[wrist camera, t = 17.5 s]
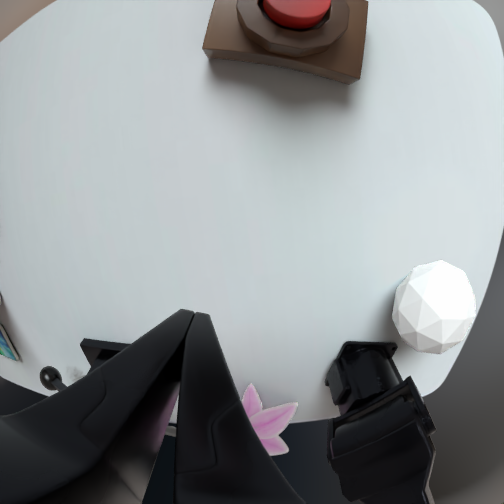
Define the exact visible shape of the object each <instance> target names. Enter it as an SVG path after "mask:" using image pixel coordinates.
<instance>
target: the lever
mask: <svg viewBox="0 0 504 504" xmlns="http://www.w3.org/2000/svg"><path fill="white" fill-rule="evenodd" d="M40 381H41V383H42V385H43V386H44V387H45V388H47V389H48V390H58V391H61V390H63V389H65V388H66V387H67V386H66V385H64V384H63V383H62V377H61V375H60V373H59V371H58V370H57V369H56V368H54V367H51V366H46V367H44V368H43V369H42V370H41V372H40Z"/></svg>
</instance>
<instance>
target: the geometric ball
mask: <svg viewBox="0 0 504 504" xmlns="http://www.w3.org/2000/svg"><path fill="white" fill-rule="evenodd" d="M475 316H476V303H475V295H474V292H473V290H472V288H471V285H470V283H469V281H468V279H467V276H466V274H465V272H464V271H462V270H460V269H458V268H456V267H454V266H452V265H450V264H448V263H446V262H444V261H442V260H439V261H435V262H431V263H428V264H424V265H420V266H416V267H414V268H413V270H412V271H411V272H410V273H409V274H408V276H407V277H406V278H405V279H404V280H403V282H402V283H401V284H400V285H399V286H398V287H397V289H396V293H395V300H394V307H393V313H392V319H393V321H394V323H395V325H396V328H397V330H398V332H399V334H400V336H401V338H402V340H403V342H405V343H406V344H408V345H409V346H411V347H412V348H414V349H415V350H417V351H419V352H426V353H434V354H442V353H444V352H445V351H447V350H448V349H450V348H452V347H453V346H455V345H457V344H458V343H460V342H461V341H463V339H464V337H465V335H466V334H467V332H468V330H469V328H470V326H471V324H472V322H473V320H474V318H475Z"/></svg>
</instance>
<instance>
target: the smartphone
mask: <svg viewBox="0 0 504 504" xmlns="http://www.w3.org/2000/svg"><path fill="white" fill-rule="evenodd" d="M0 354H1V355H3V356H5V357H8V358H10V359H12V360H15V361H18V360H19V357H18V355H17V353H16V351H15V349H14V348H13V346H12V344H11V342H10V341H9V339H8V337H7V335H6V333H5V331H4V329H3V327H2V326H1V325H0Z"/></svg>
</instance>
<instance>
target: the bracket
mask: <svg viewBox="0 0 504 504" xmlns="http://www.w3.org/2000/svg"><path fill="white" fill-rule="evenodd" d="M129 345H130V344H125V343H116V342H107V341H99V340H92V339H85V338H84V339H83V341H82V342H81V344H80V346H81V348H82V350H83V352H84V354H85V356H86V358H87V360H88V362H89V364H90V365H91V368H90V370H89V372H88V373H87V374H89V373H90V372H92V371H93V370H95V369H96V368H98V367H101V365H102V364H103V363H105V362H106V361H108V360H109V359H111V358H112V357H113V356H115V355H116V354H118V353H119V352H121V351H122V350H123V349H125V348H126V347H128V346H129Z"/></svg>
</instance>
